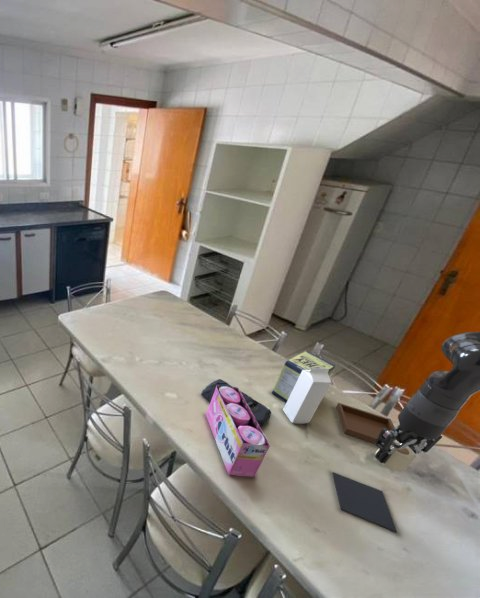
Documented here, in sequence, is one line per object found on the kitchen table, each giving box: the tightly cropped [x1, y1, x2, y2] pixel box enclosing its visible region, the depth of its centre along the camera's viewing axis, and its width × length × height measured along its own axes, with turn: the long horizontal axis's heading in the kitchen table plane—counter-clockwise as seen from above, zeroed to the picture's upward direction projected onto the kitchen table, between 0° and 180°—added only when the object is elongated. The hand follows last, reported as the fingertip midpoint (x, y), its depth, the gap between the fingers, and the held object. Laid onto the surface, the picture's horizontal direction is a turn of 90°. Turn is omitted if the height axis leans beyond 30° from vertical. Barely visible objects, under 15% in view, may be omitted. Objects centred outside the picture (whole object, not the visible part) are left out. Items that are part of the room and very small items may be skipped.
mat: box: [331, 472, 398, 533], centre depth 90 cm, size 12×12×1 cm
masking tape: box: [374, 440, 417, 473], centre depth 83 cm, size 6×6×5 cm
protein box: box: [271, 350, 336, 404], centre depth 123 cm, size 10×16×16 cm
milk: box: [282, 368, 332, 425], centre depth 111 cm, size 6×6×22 cm
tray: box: [335, 402, 396, 445], centre depth 113 cm, size 16×14×3 cm
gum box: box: [205, 385, 271, 478], centre depth 102 cm, size 24×8×14 cm, turn 178°
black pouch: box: [200, 378, 272, 427], centre depth 119 cm, size 15×22×5 cm
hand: (391, 459), depth 84 cm, fingers closed on masking tape, 6 cm apart
